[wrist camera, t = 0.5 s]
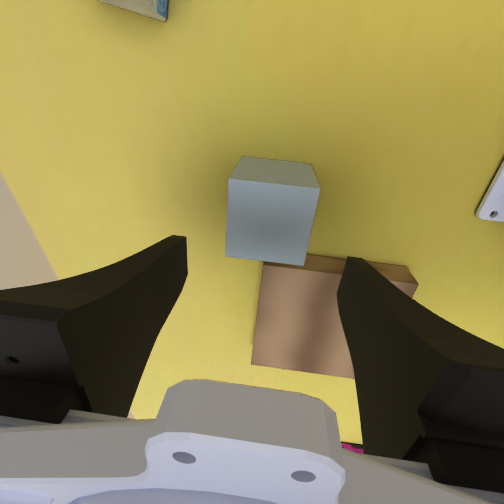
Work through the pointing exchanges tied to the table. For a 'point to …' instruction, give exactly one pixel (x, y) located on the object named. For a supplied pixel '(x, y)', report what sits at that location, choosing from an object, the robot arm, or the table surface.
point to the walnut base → (309, 315)
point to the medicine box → (143, 7)
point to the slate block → (270, 210)
